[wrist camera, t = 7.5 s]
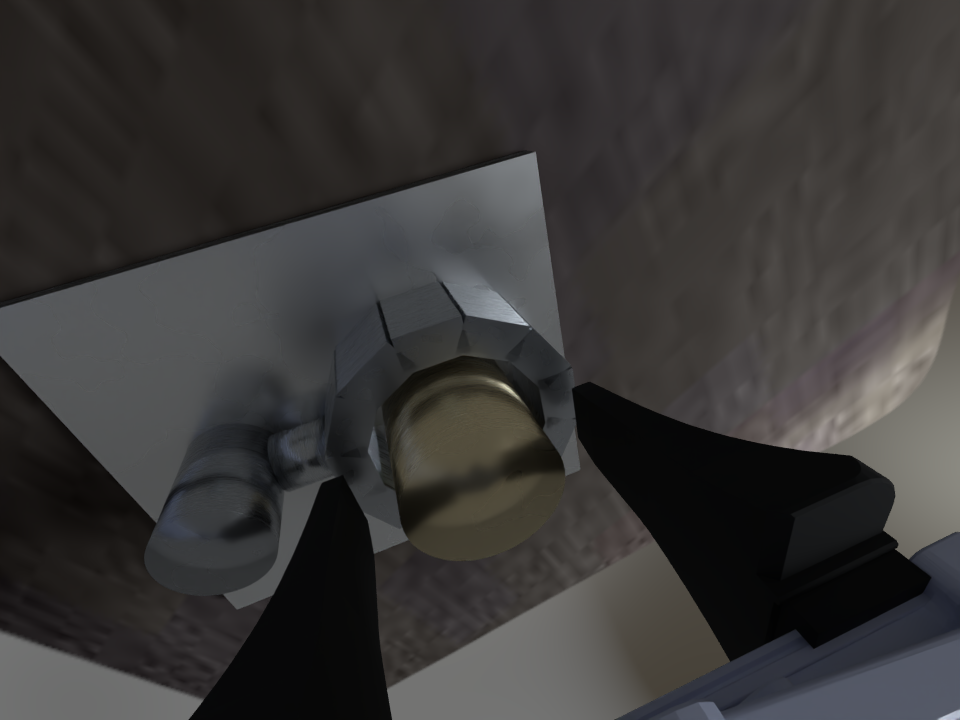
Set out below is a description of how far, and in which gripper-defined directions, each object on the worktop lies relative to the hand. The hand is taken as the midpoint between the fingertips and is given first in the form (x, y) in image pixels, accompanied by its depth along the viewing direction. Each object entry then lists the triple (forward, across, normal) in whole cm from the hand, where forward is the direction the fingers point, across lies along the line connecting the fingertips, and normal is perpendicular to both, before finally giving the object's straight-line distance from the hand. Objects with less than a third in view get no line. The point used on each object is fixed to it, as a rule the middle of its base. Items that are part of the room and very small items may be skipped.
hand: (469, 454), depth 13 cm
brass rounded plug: (+4, 0, 0) cm, 4 cm away
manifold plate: (+5, +3, 0) cm, 6 cm away
